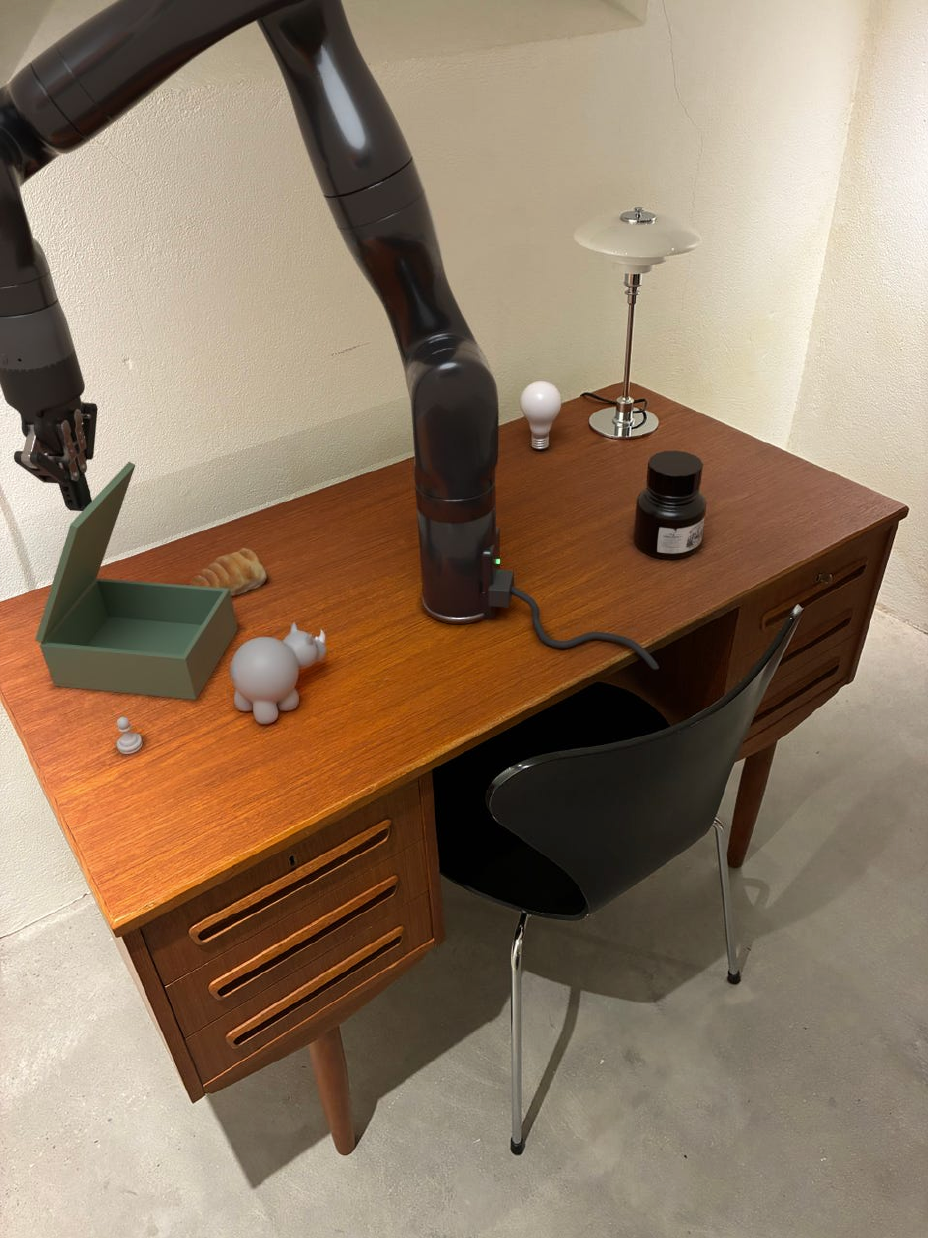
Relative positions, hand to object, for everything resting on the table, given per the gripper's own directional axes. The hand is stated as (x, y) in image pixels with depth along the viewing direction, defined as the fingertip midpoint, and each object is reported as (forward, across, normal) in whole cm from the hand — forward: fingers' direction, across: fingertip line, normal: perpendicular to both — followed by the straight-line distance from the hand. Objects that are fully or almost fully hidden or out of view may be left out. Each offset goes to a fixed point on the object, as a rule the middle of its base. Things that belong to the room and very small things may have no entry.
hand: (80, 507), depth 105 cm
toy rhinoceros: (+20, -4, -22) cm, 30 cm away
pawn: (+20, -14, -8) cm, 26 cm away
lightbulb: (+20, +58, -42) cm, 74 cm away
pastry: (+20, +16, -8) cm, 27 cm away
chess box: (+20, 0, -3) cm, 20 cm away
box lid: (+6, 0, +1) cm, 6 cm away
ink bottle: (+20, +32, -62) cm, 73 cm away
